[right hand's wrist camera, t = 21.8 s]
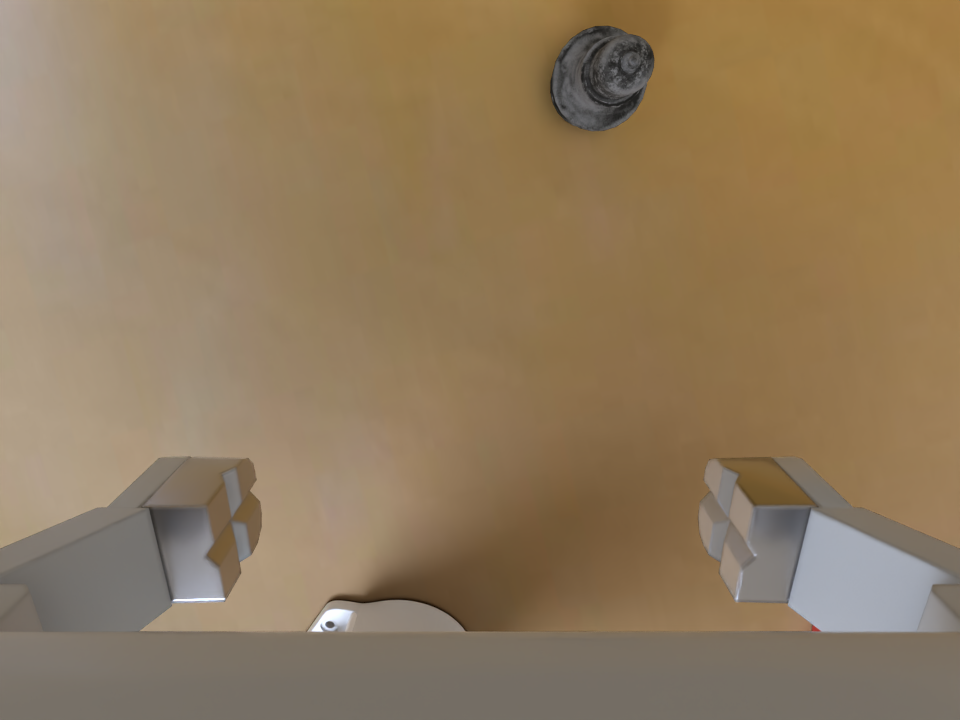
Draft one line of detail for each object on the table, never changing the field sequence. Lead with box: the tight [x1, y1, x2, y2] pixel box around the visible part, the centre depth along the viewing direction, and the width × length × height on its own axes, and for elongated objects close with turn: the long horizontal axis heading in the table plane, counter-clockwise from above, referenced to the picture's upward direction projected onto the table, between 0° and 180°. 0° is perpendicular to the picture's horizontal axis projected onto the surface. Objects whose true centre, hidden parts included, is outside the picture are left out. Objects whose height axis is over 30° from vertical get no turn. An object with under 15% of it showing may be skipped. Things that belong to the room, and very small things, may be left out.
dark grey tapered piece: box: [550, 26, 654, 131], centre depth 33 cm, size 6×6×12 cm
